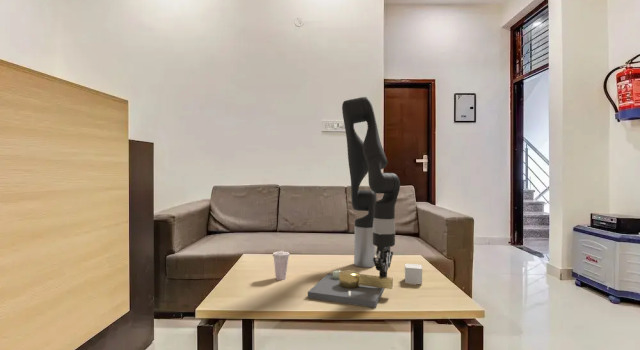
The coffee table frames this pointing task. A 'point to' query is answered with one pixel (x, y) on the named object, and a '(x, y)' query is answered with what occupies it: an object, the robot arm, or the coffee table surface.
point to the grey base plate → (345, 292)
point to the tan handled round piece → (363, 280)
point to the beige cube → (413, 274)
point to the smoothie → (281, 263)
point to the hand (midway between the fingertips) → (383, 281)
